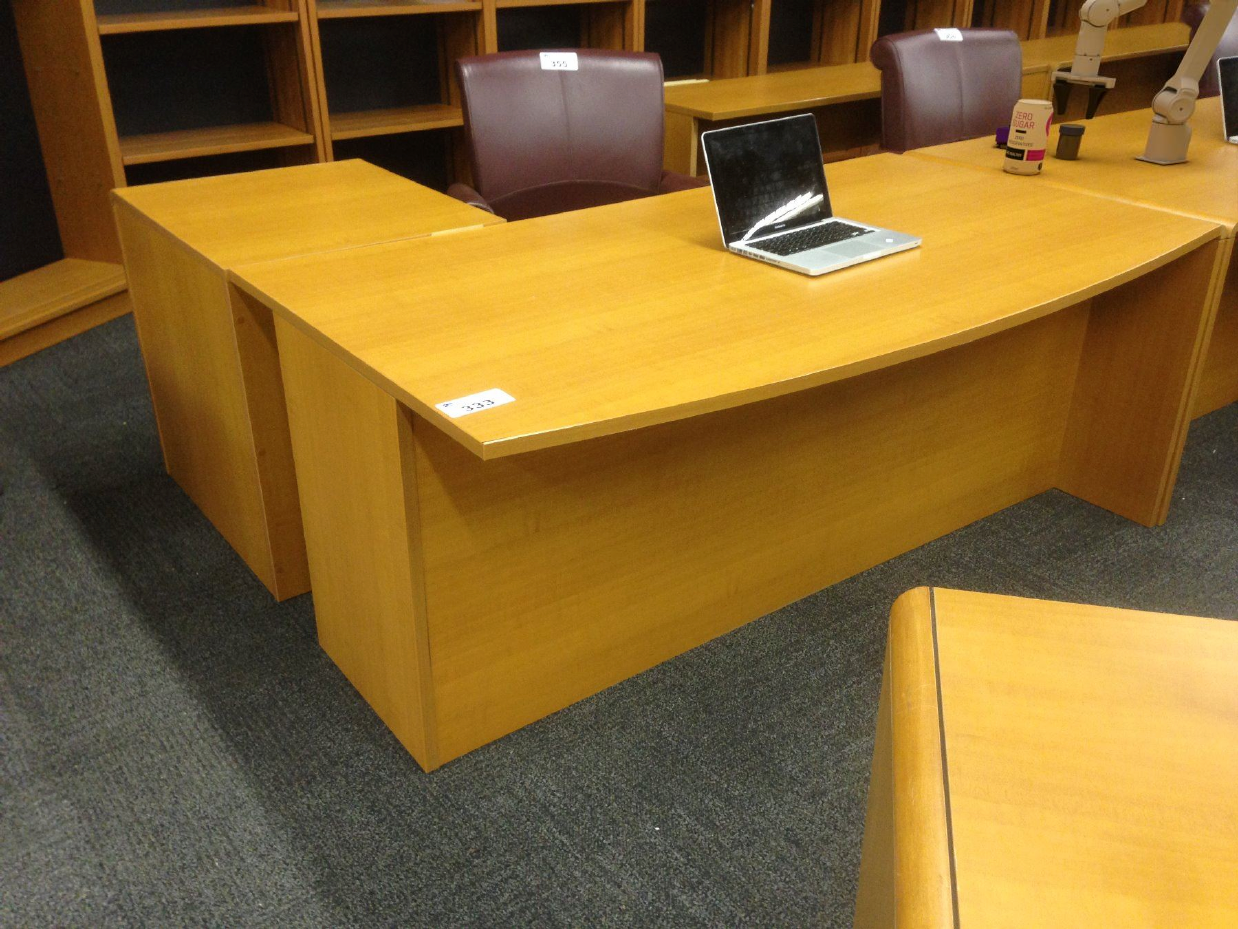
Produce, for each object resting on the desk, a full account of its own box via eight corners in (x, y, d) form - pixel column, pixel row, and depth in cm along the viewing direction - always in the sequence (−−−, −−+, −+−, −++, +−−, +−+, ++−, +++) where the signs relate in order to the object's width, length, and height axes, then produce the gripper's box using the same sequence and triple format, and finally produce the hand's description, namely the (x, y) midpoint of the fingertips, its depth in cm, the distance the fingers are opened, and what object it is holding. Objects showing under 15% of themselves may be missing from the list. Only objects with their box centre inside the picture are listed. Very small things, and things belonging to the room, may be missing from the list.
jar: (1064, 154, 253) (1070, 124, 249) (1081, 158, 249) (1088, 128, 246) (1050, 156, 250) (1056, 126, 247) (1067, 160, 247) (1074, 129, 243)
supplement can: (1040, 169, 238) (1054, 99, 231) (1040, 176, 231) (1055, 105, 224) (1002, 166, 240) (1015, 97, 233) (1002, 173, 233) (1015, 102, 226)
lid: (1069, 130, 250) (1071, 122, 250) (1089, 134, 246) (1091, 126, 245) (1053, 131, 248) (1055, 124, 247) (1073, 136, 244) (1074, 128, 243)
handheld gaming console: (1047, 127, 265) (1036, 129, 253) (1042, 149, 267) (1031, 151, 255) (1009, 123, 269) (997, 125, 257) (1005, 144, 271) (992, 147, 259)
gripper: (1049, 52, 241) (1037, 113, 248) (1109, 59, 232) (1095, 123, 238) (1065, 50, 246) (1053, 111, 252) (1125, 57, 236) (1111, 119, 242)
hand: (1074, 116), depth 245 cm, fingers open, 6 cm apart
